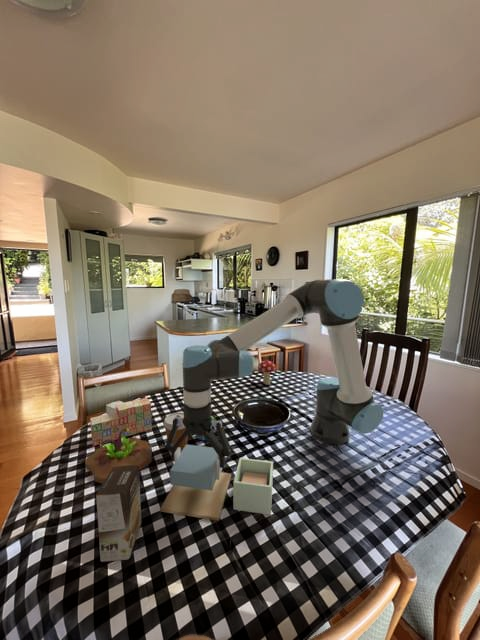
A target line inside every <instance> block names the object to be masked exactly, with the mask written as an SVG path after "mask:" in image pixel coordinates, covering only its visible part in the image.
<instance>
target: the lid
mask: <svg viewBox="0 0 480 640" xmlns="http://www.w3.org/2000/svg"><path fill="white" fill-rule="evenodd" d="M217 456H218V454H217V453H216V451H215V450H214V448H213V447H212V446H203V445H193V444H187V445H186V446H185V447H184V449H183V450H182V452H181V454H180V455H179V457H178V459H177V460H176V462H174V463H173V465H172V467H171V468H170V470H169V474H170V477H169V478H170V479H169V480H170V486H173V485H176V486H183V487H190V488H197V489H204V490H211V491H212V490H213V487H214V484H215V481H216V479H217Z"/></svg>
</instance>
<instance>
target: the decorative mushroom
mask: <svg viewBox="0 0 480 640" xmlns="http://www.w3.org/2000/svg"><path fill="white" fill-rule="evenodd" d="M257 369H258V370H259V371H260V372H262V373H263V379H262V382H263V384H264V385H265V386H268V385H270V384H271V376H270V375H271V373H273V372H275V371H277V365H276V364H275V363H274V362H272V361H271V360H268V359H267V360H264V361H263V360H262V361H261V362H260V363H258V366H257Z"/></svg>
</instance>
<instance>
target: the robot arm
mask: <svg viewBox="0 0 480 640" xmlns="http://www.w3.org/2000/svg"><path fill="white" fill-rule="evenodd" d="M364 305H365V296H364V292H363V290H362V288H361V286H359V284H358V283H356V282H354V281H352V280H349V279H343V278H334V279H333V278H332V279H314V280H311V281H309V282H306V283H305V284H303V285H301V286H299V287H298V288H296V289H294V290H293V291H291V292H289V293H288V294H287V295H286V296H285V297H284V300H282V301H281V302H278V303H277V304H276V305H274V306H272V307H271V308H269V309H268V310H267V311H264V312H263V313H261V314H260V315H258V316H257V317H255V318H253V319H252V320H250V321H248V322H247V323H246V324H244V325H243V326H241V327H239V328H238V329H236V330H234V331H232V332H231V333H230V334H228V335H226V336H224V337H222V338H221V339H214V340H211V341H210V342H208V344H207V345H190V346H187V347H186V348H185V349H184V350H183V352H182V353H183V354H182V381H183V382H182V387H183V397H182V399H183V413H184V418H182V417H180V416H179V415H177V416H176V417H175V418H174V420H173V427H172V430H171V432H170V435H169V437H168V440H166V443H165V445H164V449H165V450H168V451H169V450H171V454H170V455H171V461H172V462H174V463H175V462H176V460H177V459H178V457H179V455H180V454H181V448H179V447H178V446H179V445H180V444H181V442H182V441H183V440H184V439H185V437H186V436H187V435H188V436H189V435H190V436H191V435H193V436H196V435H199V436H202V435H203V436H204V437H205V439H207V441H208V443H209V444H210V447H212V448H214V450H215V451H216V453H217V454H218V456H217V480H219V479H220V476H221V472H222V469H223V468H224V467H225V464H226V458H228V457H230V456H231V453H232V447H231V445H230V441H229V440H228V437H227V434H226V432H225V429H224V425H223V419H221V418H218V420H216V421H214V419H213V420H212V418H211V417H212V403H211V401H212V382H213V381H219V380H227V379H241V378H244V377H249V376H250V375H252V373H253V371H254V360H253V355H252V353H251V352H250V351H249V350H248V349H250V348H251V347H253V346H254V345H256V344H257V343H259V342H260V341H262V340H264V339H265V338H267V337H268V336H270V335H271V334H273V333H275V332H276V331H277V330H279V329H281V328H282V327H283V326H286V325H287V324H288V323H290V322H291V321H294V319H296V318H298V319H302V318H303V317H305V316H306V315H310V314H319V318H320V319H319V320H320V324H321V326H323V327H325V328H326V329H327V333H328V334H327V335H328V338H329V343H330V344H329V345H330V348H331V351H332V352H331V353H332V357H333V361H334V367H335V373H336V376H337V377H327V378H322V379H319V381H318V382H317V384H316V395H315V396H316V400H315V401H316V402H315V415H314V417H313V419H312V422H311V424H310V433H311V435H312V436H313V438H315V439H317V440H319V442H322V443H326V444H329V445H341V444H346V443H347V442H348V441H350V429H349V427H351V428H352V430H355V431H356V432H358V433H360V434H369V433H372V432H374V431H375V430H376V429H377V428H378V427H379V426H380V424H381V423H382V420H383V418H384V407H382V405H381V404H380V403H379V402H376V401H375V400H374V394H373V391H372V389H371V388H370V387H369V386H367V384H366V377H365V372H364V367H363V363H362V356H361V351H360V345H359V340H358V339H359V338H358V334H357V329H356V325H355V324H356V322H357V321H358V320H359V318H360V317H359V315H360V313H362V311H363V308H362V307H364ZM181 423H183V424H184V426H185V427H186V430H185V431H184V432H183V434H182V435H181V436H180V438H179V439H178V440H177V441H176V443H175V444H173V443H172V442H173V440H174V437H175V435H176V432H177V430H178V427H179V426H180V425H181ZM211 426H212V427H213V428H214V430H216V431H215V432H216V434H215V433H214V432H213V429H211ZM190 433H191V434H190ZM216 435H217V436H216Z"/></svg>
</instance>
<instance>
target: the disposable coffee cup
mask: <svg viewBox="0 0 480 640" xmlns="http://www.w3.org/2000/svg"><path fill="white" fill-rule="evenodd" d="M177 415H179V416H180V417H182V418H184V412H173V413H170V414H168V415H167V416H166V417H165V418H164V420H163V426H164V429H165V434H166V439H167V440H168V437H169V435H170V432H171V430H172V427H173V420H174V418H175V417H176V416H177ZM185 430H186V427H185V426H184V424H183V423H181V425H180V426H179V427H178V430H177V432H176V435H175V437H174V440H173V442H172V443H173V444H175V443H176V441H177V440H178V439H179V438H180V436H181V435H182V434H183V432H184V431H185ZM188 436H189V434H188V435H187V436H186V437H185V439H184V440H183V441H182V442H181V444H180V445H179V446H178V447H179V448H181V452H182V450H183V449H184V447H185V446H186V445H188V439H189V437H188ZM167 440H166V441H167ZM168 451H169V453H171V450H169V449H168Z"/></svg>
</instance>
